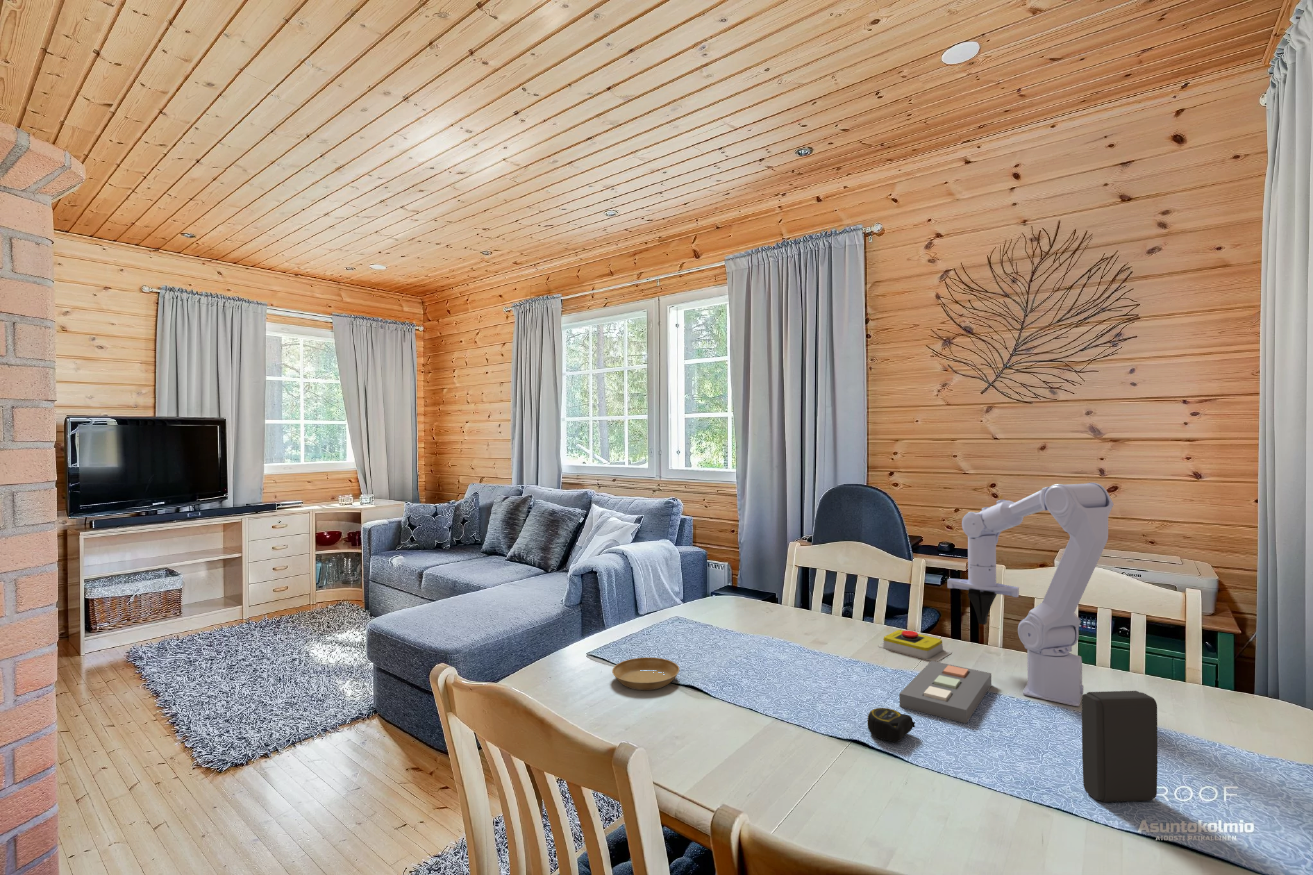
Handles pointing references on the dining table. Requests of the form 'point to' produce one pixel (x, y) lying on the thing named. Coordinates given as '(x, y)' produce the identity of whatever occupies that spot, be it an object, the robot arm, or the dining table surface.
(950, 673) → the terracotta button
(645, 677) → the plant saucer
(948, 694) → the cream button
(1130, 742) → the dark brown upright block
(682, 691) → the dining table surface
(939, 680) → the sage button
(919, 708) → the button panel
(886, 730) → the tape measure
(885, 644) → the emergency button
